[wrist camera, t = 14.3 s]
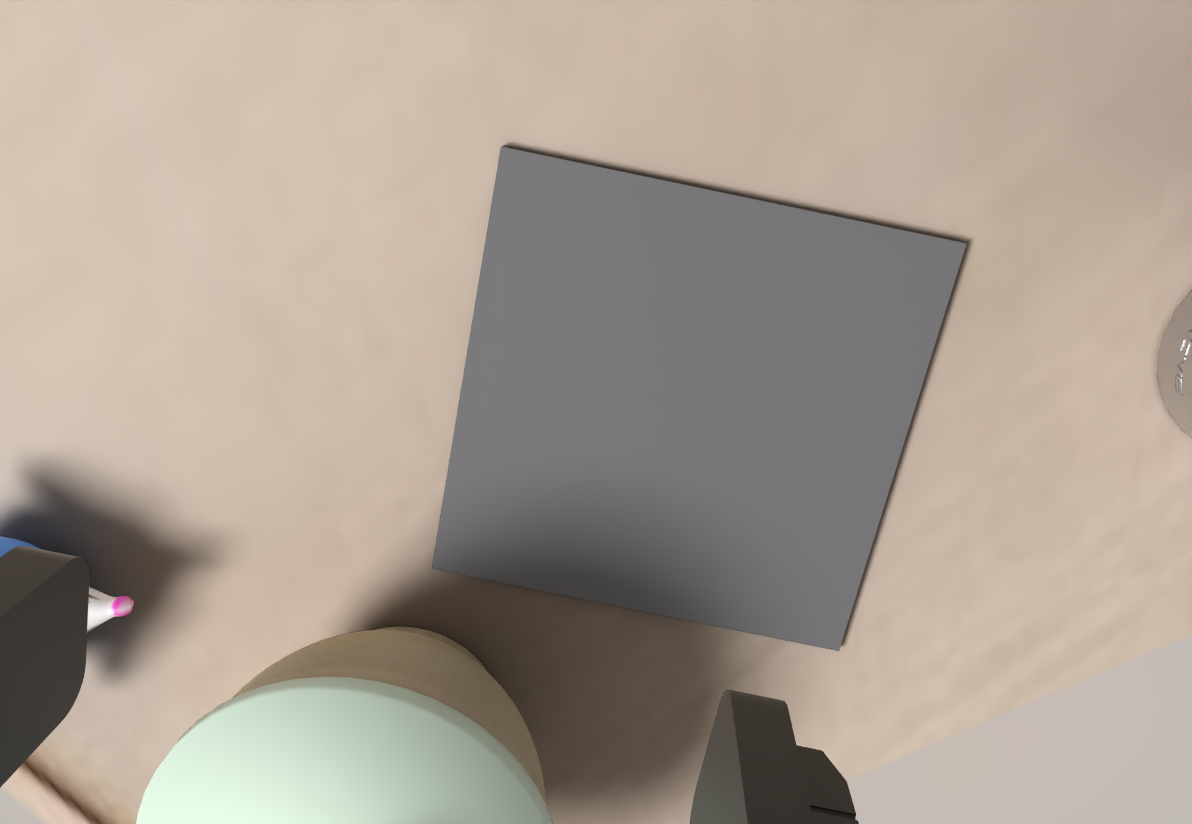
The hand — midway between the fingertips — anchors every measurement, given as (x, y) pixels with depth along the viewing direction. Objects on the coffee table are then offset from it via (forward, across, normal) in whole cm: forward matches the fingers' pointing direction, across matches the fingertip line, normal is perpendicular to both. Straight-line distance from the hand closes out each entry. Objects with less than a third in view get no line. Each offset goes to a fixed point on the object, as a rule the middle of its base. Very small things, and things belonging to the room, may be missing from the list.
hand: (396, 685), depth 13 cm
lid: (+22, +4, +24) cm, 33 cm away
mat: (+33, -6, +6) cm, 34 cm away
